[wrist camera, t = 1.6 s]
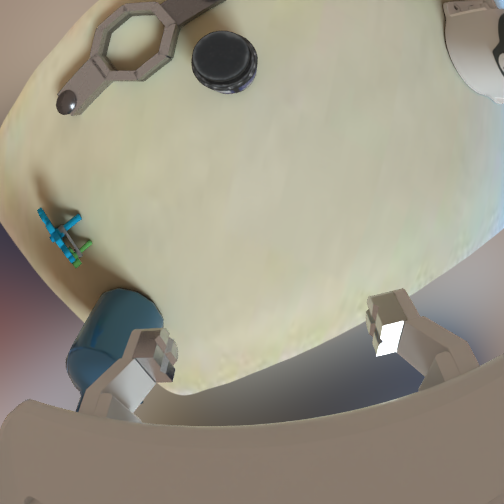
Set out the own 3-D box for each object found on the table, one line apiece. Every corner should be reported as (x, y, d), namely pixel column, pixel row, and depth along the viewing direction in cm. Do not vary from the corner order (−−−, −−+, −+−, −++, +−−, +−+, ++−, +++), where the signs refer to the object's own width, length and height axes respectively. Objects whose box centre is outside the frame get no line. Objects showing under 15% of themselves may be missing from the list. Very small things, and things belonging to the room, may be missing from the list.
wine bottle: (87, 303, 45) (17, 438, 19) (128, 271, 41) (44, 443, 15) (136, 348, 50) (96, 483, 24) (182, 326, 47) (148, 493, 21)
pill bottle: (244, 41, 26) (241, 13, 16) (264, 83, 28) (271, 71, 19) (196, 61, 27) (172, 42, 17) (216, 102, 30) (200, 100, 20)
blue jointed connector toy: (33, 209, 34) (34, 217, 27) (60, 188, 36) (68, 190, 30) (68, 261, 40) (78, 280, 34) (92, 240, 43) (108, 254, 36)
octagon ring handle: (202, -37, 19) (199, -45, 17) (249, 12, 24) (249, 5, 21) (52, 86, 26) (42, 86, 24) (87, 136, 31) (77, 139, 28)
